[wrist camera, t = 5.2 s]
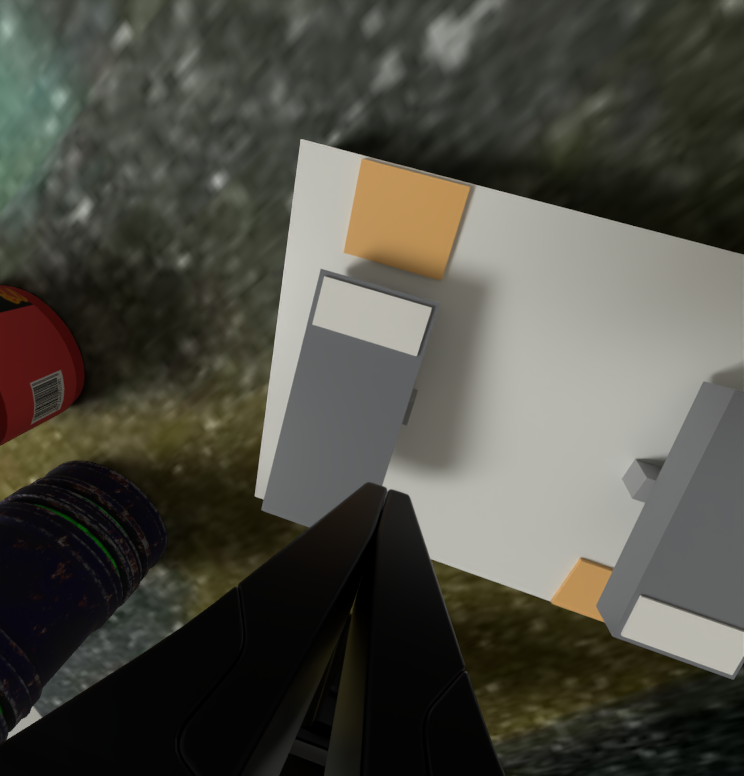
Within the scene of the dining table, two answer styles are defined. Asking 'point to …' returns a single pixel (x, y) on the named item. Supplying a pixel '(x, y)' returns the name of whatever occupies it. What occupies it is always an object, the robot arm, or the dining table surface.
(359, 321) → the rocker
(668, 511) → the block
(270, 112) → the dining table surface
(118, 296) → the dining table surface
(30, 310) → the canned food
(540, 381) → the switch base
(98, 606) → the storage jar
